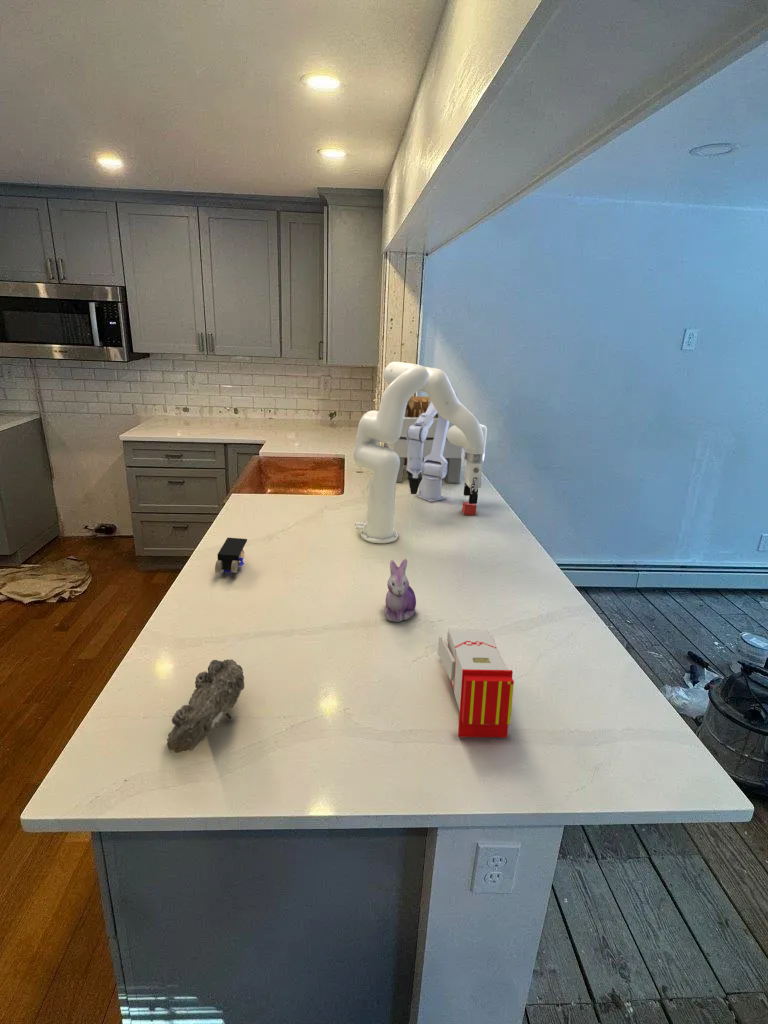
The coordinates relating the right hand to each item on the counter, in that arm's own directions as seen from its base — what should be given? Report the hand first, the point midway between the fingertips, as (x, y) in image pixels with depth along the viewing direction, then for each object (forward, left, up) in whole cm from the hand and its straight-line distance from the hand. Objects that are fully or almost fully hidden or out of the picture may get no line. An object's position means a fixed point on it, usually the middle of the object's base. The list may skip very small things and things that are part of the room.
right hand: (413, 490), depth 221 cm
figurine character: (+11, -80, -8) cm, 81 cm away
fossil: (+69, -110, -8) cm, 130 cm away
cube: (+14, +18, -8) cm, 24 cm away
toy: (+92, -64, -8) cm, 112 cm away
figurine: (+59, -56, -8) cm, 82 cm away
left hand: (+14, +18, -2) cm, 23 cm away
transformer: (-39, +39, -8) cm, 56 cm away
